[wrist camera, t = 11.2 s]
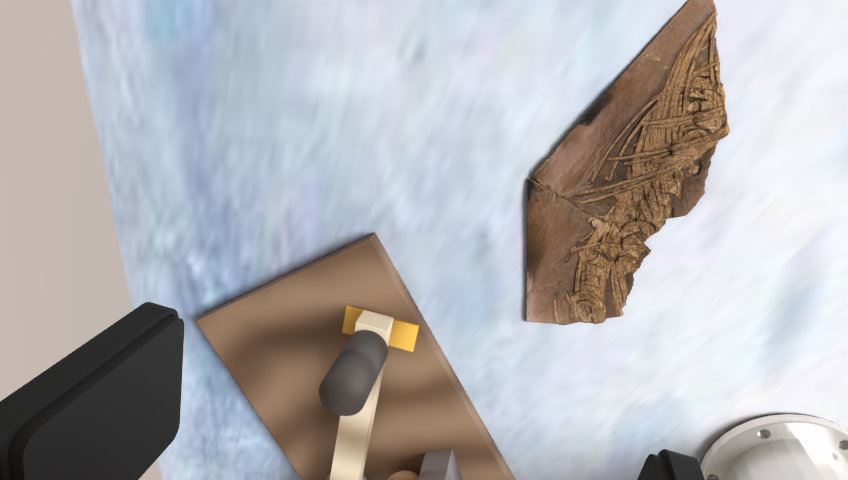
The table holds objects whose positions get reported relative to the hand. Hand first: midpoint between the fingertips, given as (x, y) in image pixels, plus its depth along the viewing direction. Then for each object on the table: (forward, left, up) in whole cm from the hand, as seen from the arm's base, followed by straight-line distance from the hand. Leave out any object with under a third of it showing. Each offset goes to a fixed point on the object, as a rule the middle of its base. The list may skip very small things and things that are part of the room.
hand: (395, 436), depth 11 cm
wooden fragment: (-6, -6, -33) cm, 34 cm away
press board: (-15, +21, -32) cm, 41 cm away
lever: (-16, +21, -30) cm, 40 cm away
